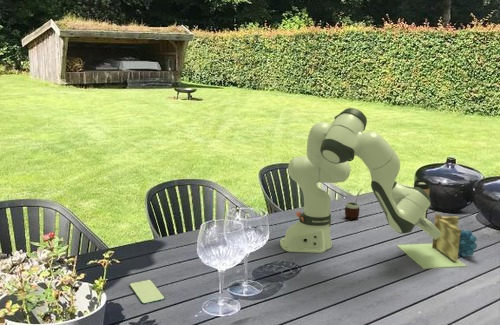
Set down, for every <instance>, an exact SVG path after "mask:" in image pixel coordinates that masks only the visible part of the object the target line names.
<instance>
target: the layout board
mask: <svg viewBox="0 0 500 325" xmlns="http://www.w3.org/2000/svg"><path fill="white" fill-rule="evenodd" d="M432 244H433V242H431V243H411V244H408V243H407V244H397V245H396V246H397V247H398V249H400V250H401V251H402V252H403V253H404V254H406V255H407V256H408V257H409V258H410V259H411V260H412V261H414V263H417V265H419V266H420V267H421V268H422V269H423V270H425V269H426V270H427V269H445V268H449V269H450V268H466V267H467V265H466V264H465V263H463V262H462V261H461V260H460V259H457V261H454V260H452V259H451V258H449V257H448V256H447V255H445V254H444V253H442V252H441V251H440V250H438V249H434V248H432Z"/></svg>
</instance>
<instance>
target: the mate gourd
mask: <svg viewBox="0 0 500 325" xmlns="http://www.w3.org/2000/svg"><path fill="white" fill-rule="evenodd" d="M362 190H363V189H362V188H361V189H360V190H359V191H358V193H357V194H356V198H355V202H348V203H346V204H345V208H344V215H345V220H350V221H349V222H352V221H354V220H355V221H359V215H360V205H359V204H358V203H357V202H358V198H359V196H360V193H361V192H362Z"/></svg>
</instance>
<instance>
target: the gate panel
mask: <svg viewBox="0 0 500 325" xmlns="http://www.w3.org/2000/svg"><path fill="white" fill-rule="evenodd" d="M438 221H439V222H438V230H439V231H440V232H441V233H442V234H441V236H440V237H439V238H437V242H436V248H437V249H438V250H440V251H441V252H442V253H444V254H445V255H447V256H448V257H449V258H451V259H452V260H454V261H457V259H458V258H459V254H458V250H459V241H460V232H461V230H462V229H460V228H457V227H455V226H454V225H452V224H450V223H449V222H447V221H445V220H444V219H438ZM458 260H459V259H458Z"/></svg>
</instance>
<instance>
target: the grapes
mask: <svg viewBox="0 0 500 325" xmlns="http://www.w3.org/2000/svg"><path fill="white" fill-rule="evenodd" d="M477 238H478V237H477V236H476V235H475V234H473V232H472V230H470V229H469V230H468V229H467V230H465V229H461V232H460V241H459V250H458V255H461V256H462V257H463V258H466V257H468V256H470V257H471V256H473V255H474V253H475V250H476V249H477V248H478V244H477V243H476V241H477Z"/></svg>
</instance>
